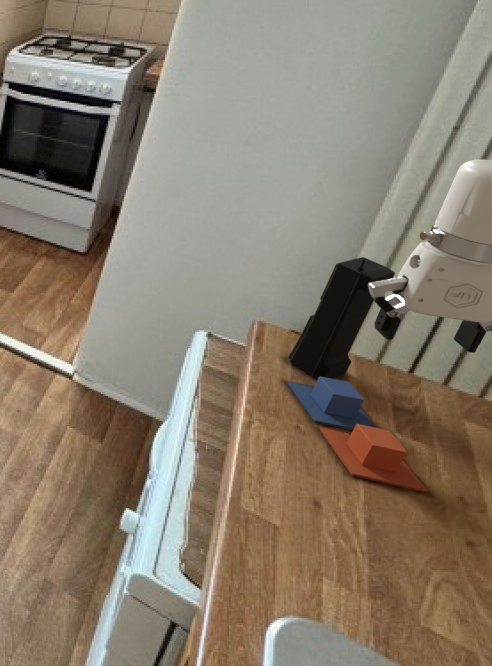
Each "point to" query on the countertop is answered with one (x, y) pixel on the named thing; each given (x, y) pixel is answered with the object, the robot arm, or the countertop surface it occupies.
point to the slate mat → (325, 418)
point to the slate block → (337, 397)
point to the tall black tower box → (338, 318)
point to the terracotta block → (376, 448)
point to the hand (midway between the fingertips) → (422, 340)
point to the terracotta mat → (400, 478)
